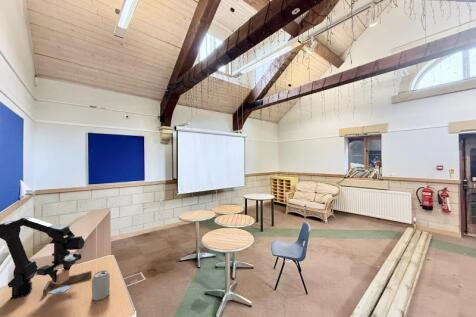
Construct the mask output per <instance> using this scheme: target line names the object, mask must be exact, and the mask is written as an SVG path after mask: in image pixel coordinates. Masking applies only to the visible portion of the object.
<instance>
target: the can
mask: <svg viewBox="0 0 476 317" xmlns="http://www.w3.org/2000/svg"><path fill="white" fill-rule="evenodd" d="M110 276H111V275H110V273H109V271H108V270H106V269H104V270H99V271H97V272H95V273H94V274H93V276H92V277H91V299H92V300H94V301H96V302H97V301H101V300H104V299H105V298H107V297H108V295H109V294H110V290H111V289H110V285H111V284H110V278H111V277H110Z"/></svg>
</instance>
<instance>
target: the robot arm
mask: <svg viewBox="0 0 476 317" xmlns="http://www.w3.org/2000/svg"><path fill="white" fill-rule="evenodd" d="M21 227H25V228H26V227H27V228H30V229H31V230H35V231H38V232H42V233H45V234H46V235H47V236H48V237H49V238H51V239H52V240H51V241H49V242H48V244H52V245H53V253H51V256H53V260H52V261H51V265H48V264H45V265H44V266H41V267H39V266H37V262H36V261H35V260H34V261H30V260H29V258H28V255H27V253H26V250H25V249H24V245H23V243H22V240H21V238H20V234H21ZM0 239H2V240H3V241H4V242H5V244H6V247H7V248H8V249H7V250H8V252H9V254H10V256H11V258H12V261H13V264H14V270H13V271H12V272H13V273H12V275H13V278H12V279H11V280H10V281H9V282H8V283H7V286H8V288H9V289H10V288H11V297H10V298H9V299H10V300H14V299H13V298H15V299H18V298H22V297H25V296H29V294H30V292H32V290H33V282H32V279H34V276H35V275H37V276H43V277H44V276H49V277H50V278H51V280H53V281H54V282H56V280H57V272H58V271H59V269H57V268H58V267H60V266H63V268H62V269H65V270H69V271H70V270H71V268H72V266H73V265H75V264H76V262H77V261H79V260H81V259H82V254H81V253H79V252H74V253H72V254H71V251H73V250H76V251H77V250H82V249H83V248H84V247H85V239H84V238H83V236H82V235H79V236H75V234H74V232H72V231H71V229H70V226H68V225H61V224H52V223H49V222H47V221H43V220H41V219H37V218H34V217H32V216H25V217H21V218H19V219H17V220H10V221H7V222H3V223H0Z"/></svg>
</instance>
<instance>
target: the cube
mask: <svg viewBox="0 0 476 317" xmlns="http://www.w3.org/2000/svg"><path fill="white" fill-rule="evenodd" d="M69 276H70V270H65V269H64V268H62V269H60V270H59V269H58V272H57V280H56V282H54V281H53V280H52V279H51V280H52V283H53V284H61V283H63V282H65V281H67V280H68V279H69Z"/></svg>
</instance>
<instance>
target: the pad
mask: <svg viewBox="0 0 476 317" xmlns="http://www.w3.org/2000/svg"><path fill="white" fill-rule="evenodd" d="M71 288H73V286H71V285H67V284H64V285H60V286H57V287H56V288H55V289H52V290H51V291H50V292H49V291H48V294H52V295H57V296H60V295H61V294H63V293H65V292H66V291H68V290H69V289H71Z"/></svg>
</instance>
